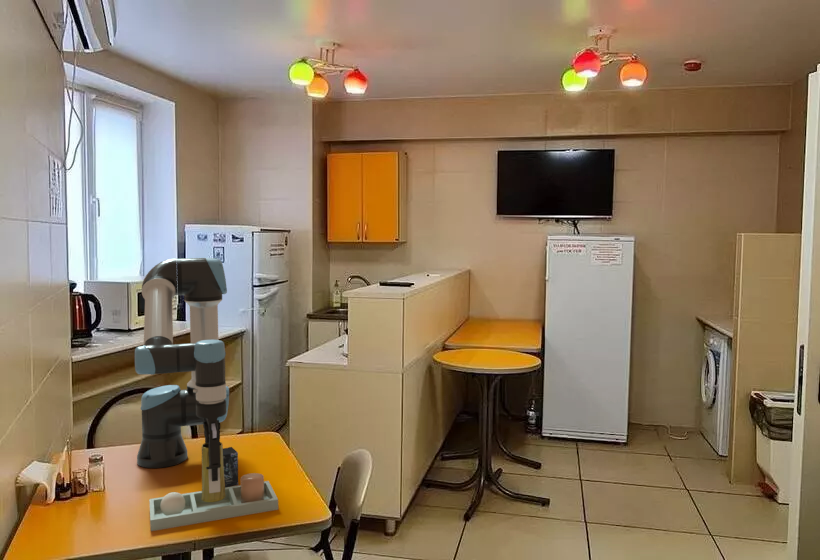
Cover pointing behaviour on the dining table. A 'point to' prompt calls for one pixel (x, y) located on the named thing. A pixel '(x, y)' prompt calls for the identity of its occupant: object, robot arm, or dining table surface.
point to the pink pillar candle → (252, 487)
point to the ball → (172, 504)
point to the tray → (211, 508)
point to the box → (230, 466)
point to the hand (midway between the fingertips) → (213, 487)
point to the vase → (205, 477)
